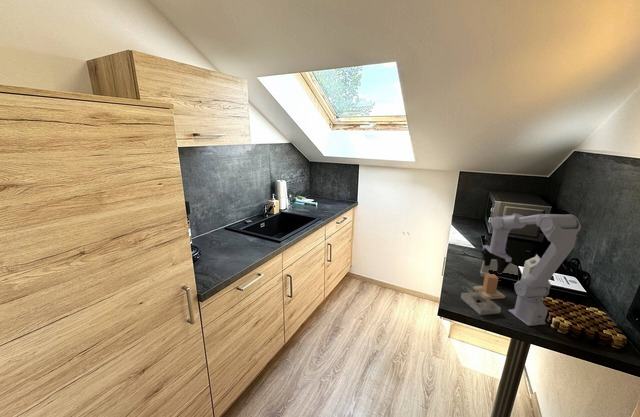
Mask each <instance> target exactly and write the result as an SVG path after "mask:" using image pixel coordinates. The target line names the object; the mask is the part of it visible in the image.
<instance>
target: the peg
mask: <svg viewBox="0 0 640 417" xmlns="http://www.w3.org/2000/svg"><path fill="white" fill-rule="evenodd" d="M498 279H499V278H498V277H497V276H496V275H495V274H490V273H485V277H483V284H482V286H483V290H484V291H485V293H490V294H495V293H496V290H497V288H498V283H499V280H498Z"/></svg>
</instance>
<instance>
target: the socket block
mask: <svg viewBox="0 0 640 417" xmlns="http://www.w3.org/2000/svg"><path fill="white" fill-rule="evenodd" d="M460 299H461V300H462V301H463V302H464V303H466V304H467V305H468V306H469V307H470V308H471V309H473V311H475V312H476V313H477V315H480V316H485V315H486V316H487V315H495V314H501V309H502V307H501V306H499V305H498V304H497V303H495V302H494V301H493V300H492V299H489V298H487V297H486V296H485V295H483V294H482V293H481V292H477V291H472V292H471V291H470V292H468V291H467V292H461V295H460ZM477 301H479V302H477Z"/></svg>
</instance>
